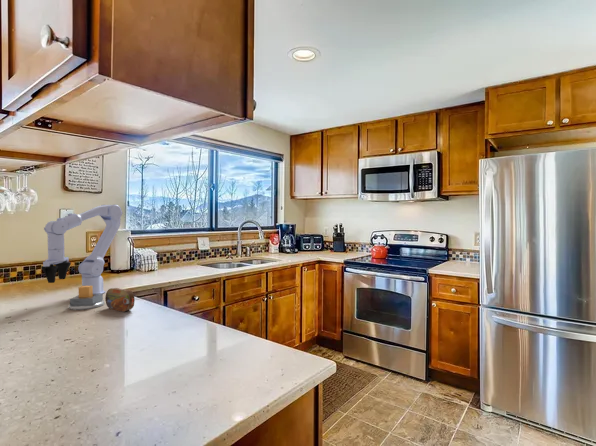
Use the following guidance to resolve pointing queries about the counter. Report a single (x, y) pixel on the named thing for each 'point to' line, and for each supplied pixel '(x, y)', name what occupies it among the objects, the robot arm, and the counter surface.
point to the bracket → (86, 302)
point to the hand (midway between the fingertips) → (57, 280)
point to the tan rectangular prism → (85, 291)
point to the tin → (119, 299)
